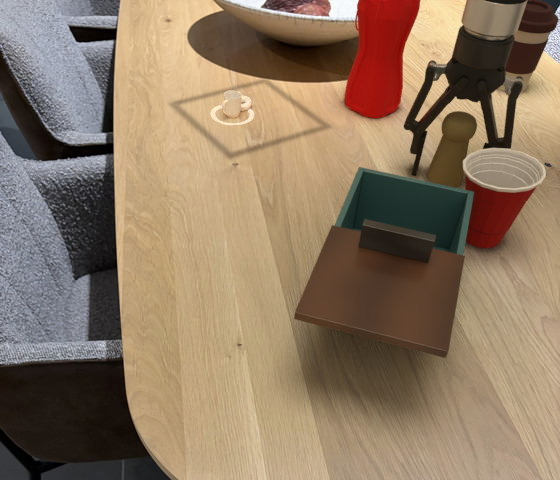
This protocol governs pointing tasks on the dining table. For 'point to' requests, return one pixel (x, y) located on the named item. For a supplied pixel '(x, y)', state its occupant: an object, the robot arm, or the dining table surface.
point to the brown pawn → (452, 149)
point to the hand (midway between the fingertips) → (444, 178)
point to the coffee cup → (530, 40)
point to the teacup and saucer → (234, 107)
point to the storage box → (409, 207)
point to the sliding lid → (385, 287)
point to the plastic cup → (498, 191)
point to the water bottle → (380, 56)
